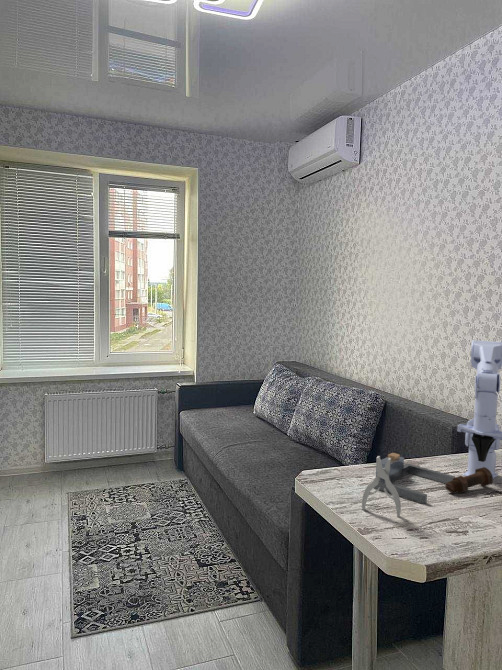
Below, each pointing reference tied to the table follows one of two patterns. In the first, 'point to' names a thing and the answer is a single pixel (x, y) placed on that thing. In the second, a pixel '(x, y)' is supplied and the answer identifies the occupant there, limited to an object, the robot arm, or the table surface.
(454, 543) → the table surface
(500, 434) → the robot arm
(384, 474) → the pliers
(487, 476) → the bolt
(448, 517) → the table surface
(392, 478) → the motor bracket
